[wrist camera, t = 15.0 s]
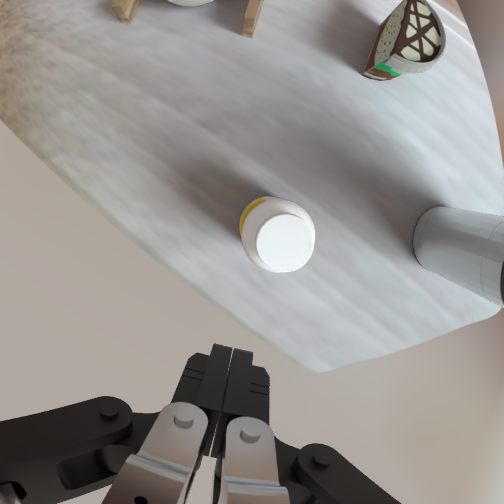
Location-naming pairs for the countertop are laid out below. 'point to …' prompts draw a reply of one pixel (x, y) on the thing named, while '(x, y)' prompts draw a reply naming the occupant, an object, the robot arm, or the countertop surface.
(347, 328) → the countertop surface
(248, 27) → the bay
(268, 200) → the supplement bottle
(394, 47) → the food container
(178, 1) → the ornament
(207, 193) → the countertop surface
